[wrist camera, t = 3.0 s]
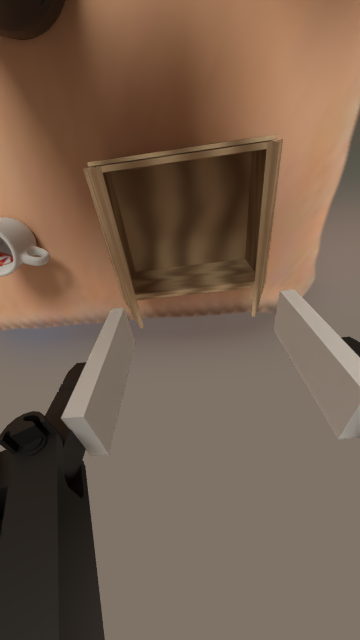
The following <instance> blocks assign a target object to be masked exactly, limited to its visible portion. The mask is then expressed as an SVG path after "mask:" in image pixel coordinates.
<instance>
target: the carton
mask: <svg viewBox="0 0 360 640" xmlns="http://www.w3.org/2000/svg"><path fill="white" fill-rule="evenodd" d="M276 139H277V134H276V135H269V136H263V137H256V138H249V139H242V140H236V141H229V142H222V143H215V144H208V145H202V146H195V147H188V148H181V149H174V150H168V151H161V152H154V153H147V154H141V155H134V156H127V157H120V158H113V159H107V160H100V161H93V162H87V164H88V167H90V168H84V169H83V171H84V174H85V178H86V181H87V184H88V187H89V190H90V186H89V183H88V180H87V177H86V173H85V171H87V170H89V169H92V168H94V167H97V166H101V169H102V173H103V177H104V181H105V184H106V188H107V192H108V196H109V199H110V203H111V207H112V210H113V214H114V218H115V222H116V225H117V229H118V233H119V237H120V240H121V244H122V248H123V252H124V255H125V259H126V263H127V266H128V270H129V274H130V278H131V281H132V285H133V289H134V293H135V296H136V300H144V299H154V298H163V297H172V296H181V295H190V294H199V293H209V292H218V291H227V290H236V289H245V288H254V283H255V272H256V261H257V250H258V239H259V228H260V217H261V205H262V194H263V183H264V172H265V161H266V150H267V142H268V141H272V140H275V142H279V143H281V149H280V158H279V166H278V174H277V183H278V175H279V167H280V159H281V151H282V142H283V139H282V140H276ZM277 183H276V191H277ZM276 191H275V200H276ZM90 194H91V197H92V200H93V196H92V193H91V190H90ZM275 200H274V208H275ZM93 203H94V200H93ZM94 207H95V210H96V213H97V209H96V206H95V203H94ZM274 208H273V216H274ZM97 216H98V213H97ZM273 216H272V224H273ZM98 220H99V223H100V226H101V222H100V219H99V216H98ZM101 229H102V226H101ZM271 232H272V225H271ZM102 233H103V236H104V232H103V229H102ZM104 239H105V236H104ZM270 241H271V233H270ZM270 241H269V249H270ZM105 242H106V239H105ZM106 246H107V249H108V245H107V242H106ZM108 252H109V249H108ZM109 255H110V252H109ZM268 257H269V250H268ZM110 259H111V262H112V258H111V255H110ZM112 265H113V262H112ZM267 265H268V258H267ZM113 268H114V265H113ZM114 272H115V275H116V271H115V268H114ZM266 273H267V266H266ZM116 278H117V275H116ZM117 281H118V278H117ZM265 282H266V275H265ZM118 284H119V281H118ZM264 284H265V283H264ZM119 288H120V285H119ZM120 291H121V288H120ZM121 294H122V291H121ZM122 297H123V294H122ZM123 300H124V298H123Z"/></svg>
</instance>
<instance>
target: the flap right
mask: <svg viewBox="0 0 360 640" xmlns="http://www.w3.org/2000/svg"><path fill="white" fill-rule="evenodd" d="M280 149H281V143H279V142H275V141H269V142H267V150H266V161H265V172H264V183H263V194H262V205H261V217H260V228H259V239H258V250H257V261H256V272H255V283H254V294H253V305H252V317H255V315H256V311H257V308H258V305H259V301H260V298H261V294H262V291H263V287H264V283H265V275H266V266H267V258H268V250H269V241H270V233H271V225H272V216H273V208H274V200H275V191H276V183H277V174H278V166H279V158H280Z"/></svg>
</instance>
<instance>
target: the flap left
mask: <svg viewBox="0 0 360 640" xmlns="http://www.w3.org/2000/svg"><path fill="white" fill-rule="evenodd" d="M85 173H86V177H87V180H88V183H89V186H90V190H91V193H92V196H93V200H94V203H95V206H96V209H97V213H98V216H99V219H100V222H101V226H102V229H103V232H104V236H105V239H106V242H107V245H108V249H109V252H110V255H111V258H112V262H113V265H114V268H115V271H116V275H117V278H118V281H119V285H120V288H121V291H122V294H123V298H124V300H125V302H126V304H127V305H128V307H129V309H130V311H131V312H132V314H133V316H134V318H135V319H136V321H137V323H138V325H139V326H140V328H144V326H143V322H142V319H141V315H140V311H139V308H138V304H137V300H136V296H135V293H134V289H133V285H132V281H131V278H130V274H129V270H128V266H127V263H126V259H125V255H124V252H123V248H122V244H121V240H120V237H119V233H118V229H117V225H116V222H115V218H114V214H113V210H112V207H111V203H110V199H109V196H108V192H107V188H106V184H105V181H104V177H103V173H102V169H101V166H97V167H94V168H92V169H89V170H87V171H85Z"/></svg>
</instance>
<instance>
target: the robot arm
mask: <svg viewBox="0 0 360 640" xmlns="http://www.w3.org/2000/svg"><path fill="white" fill-rule="evenodd" d="M64 2H65V0H0V34H1V35H3V36H6V37H9V38H13V39H30V38H34V37H37V36H39V35H41V34H42V33H44V32H45V31H46V30H48V29H49V28H50V27H51V26H52V24H53V23H54V22H55V20H56V19H57V17H58V15H59V14H60V12H61V9H62V7H63V4H64ZM274 332H275V333H276V335H277V337H278V339H279V340H280V342H281V344H282V345H283V347H284V348H285V350H286V352H287V354H288V355H289V357H290V359H291V360H292V362H293V364H294V365H295V367H296V369H297V370H298V372H299V374H300V376H301V377H302V379H303V381H304V382H305V384H306V386H307V387H308V389H309V391H310V392H311V394H312V396H313V397H314V399H315V401H316V402H317V404H318V406H319V407H320V409H321V411H322V413H323V414H324V416H325V418H326V419H327V421H328V423H329V424H330V426H331V428H332V429H333V431H334V433H335V434H336V436H337V438H338V439H346V438H359V437H360V342H358V341H356V340H355V339H353V338H351V337H342V338H340V336H338V334H337V333H335V331H334V330H333V329H332V328H331V327H330V326H329V325H328V324H327V323H326V322H325V321H324V320H323V319H322V318H321V317H320V316H319V315H318V314H317V313H316V312H315V310H314V309H313V308H312V307H311V306H310V305H309V304H308V303H307V302H306V301H305V300H304V299H303V298H302V297H301V296H300V295H299V294H298V293H297V292H296V291H295V290H294V289H293V290H284V291H280V294H279V300H278V306H277V312H276V318H275V324H274ZM134 347H135V341H134V338H133V335H132V332H131V328H130V326H129V322H128V319H127V316H126V313H125V309H124V308H117V309H111V310H110V312H109V315H108V317H107V319H106V321H105V323H104V326H103V328H102V330H101V332H100V334H99V336H98V339H97V341H96V343H95V345H94V347H93V349H92V352H91V354H90V356H89V358H88V361H87V362H85V363H77V364H76V365H75V366H74V367H73V368H72V369H71V370H70V371H69V372H68V373H67V375H66V377H65V379H64V381H63V384H62V385H61V387H60V389H59V392H57V394H56V396H55V398H54V400H53V402H52V404H51V405H50V407H49V409H48V411H47V413H46V415H45V416H44V415H43V414H42V413H40V412H34V411H33V412H29V413H26V414H23V415H21V416H20V417H18V418H16V419H15V420H13V421H12V422H11V423H10V424H9V425H7V427H6V428H5V429H4V430H3V432H2V433H1V435H0V445H2V446H3V447H4V448H5V449H7V450H4V451H2V452H0V640H105V639H104V630H103V621H102V612H101V603H100V594H99V586H98V576H97V567H96V559H95V549H94V541H93V531H92V522H91V513H90V505H89V496H88V487H87V478H86V469H85V465H84V462H83V460H82V459H83V456H84V453H85V450H86V451H87V452H88V453H89V455H90V456H101V455H109V454H110V450H111V446H112V441H113V437H114V432H115V429H116V424H117V420H118V416H119V411H120V407H121V403H122V398H123V394H124V390H125V386H126V381H127V377H128V373H129V368H130V364H131V360H132V356H133V351H134Z"/></svg>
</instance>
